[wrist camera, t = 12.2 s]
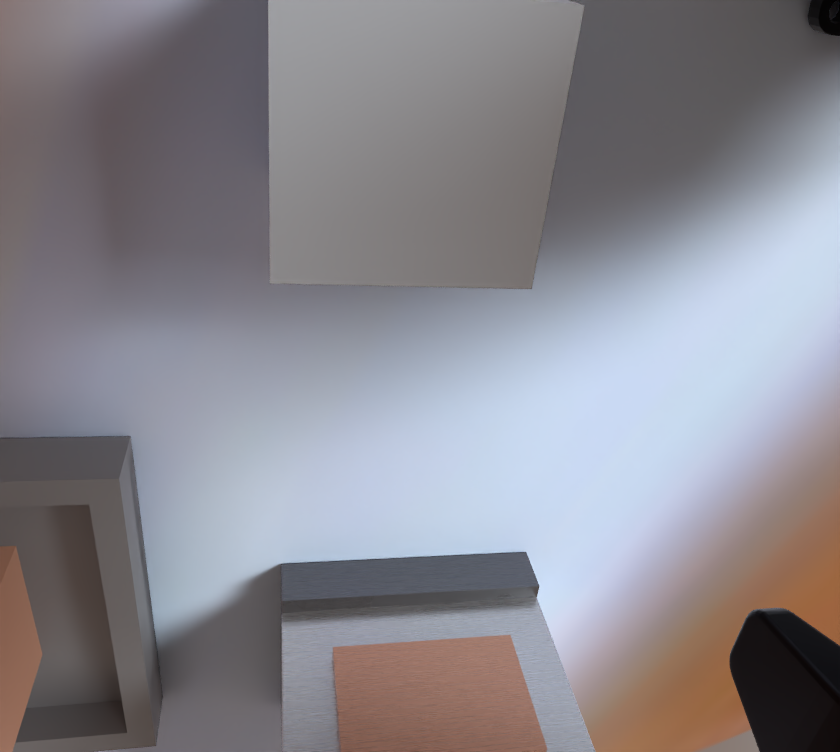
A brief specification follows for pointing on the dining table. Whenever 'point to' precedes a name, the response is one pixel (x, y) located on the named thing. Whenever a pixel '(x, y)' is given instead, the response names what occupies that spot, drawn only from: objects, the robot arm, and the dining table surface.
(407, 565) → the mounted unit
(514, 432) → the dining table surface
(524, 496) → the dining table surface
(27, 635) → the terracotta block
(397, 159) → the grey block
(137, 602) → the charcoal tray
